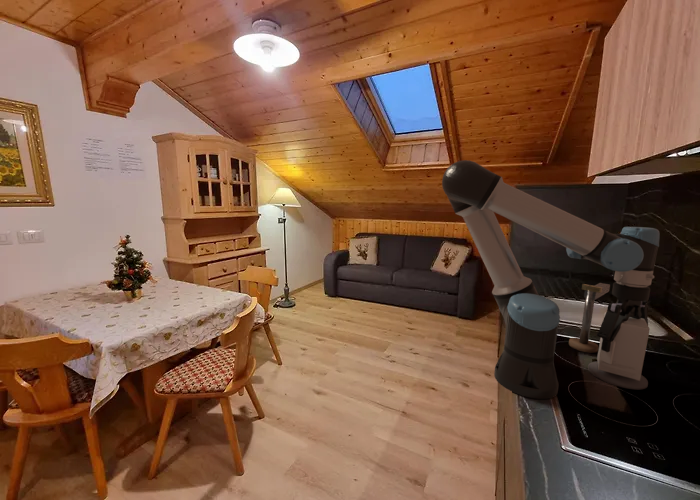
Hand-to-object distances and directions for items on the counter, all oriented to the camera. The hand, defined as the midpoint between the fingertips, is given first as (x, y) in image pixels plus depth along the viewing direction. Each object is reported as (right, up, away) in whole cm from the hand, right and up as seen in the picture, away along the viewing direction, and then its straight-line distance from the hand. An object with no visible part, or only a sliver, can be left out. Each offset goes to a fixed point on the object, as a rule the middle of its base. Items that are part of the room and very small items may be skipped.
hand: (619, 357), depth 87 cm
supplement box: (0, -4, +1) cm, 4 cm away
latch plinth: (+4, -3, +18) cm, 19 cm away
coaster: (0, -5, +1) cm, 5 cm away
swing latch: (+10, 0, +23) cm, 24 cm away
